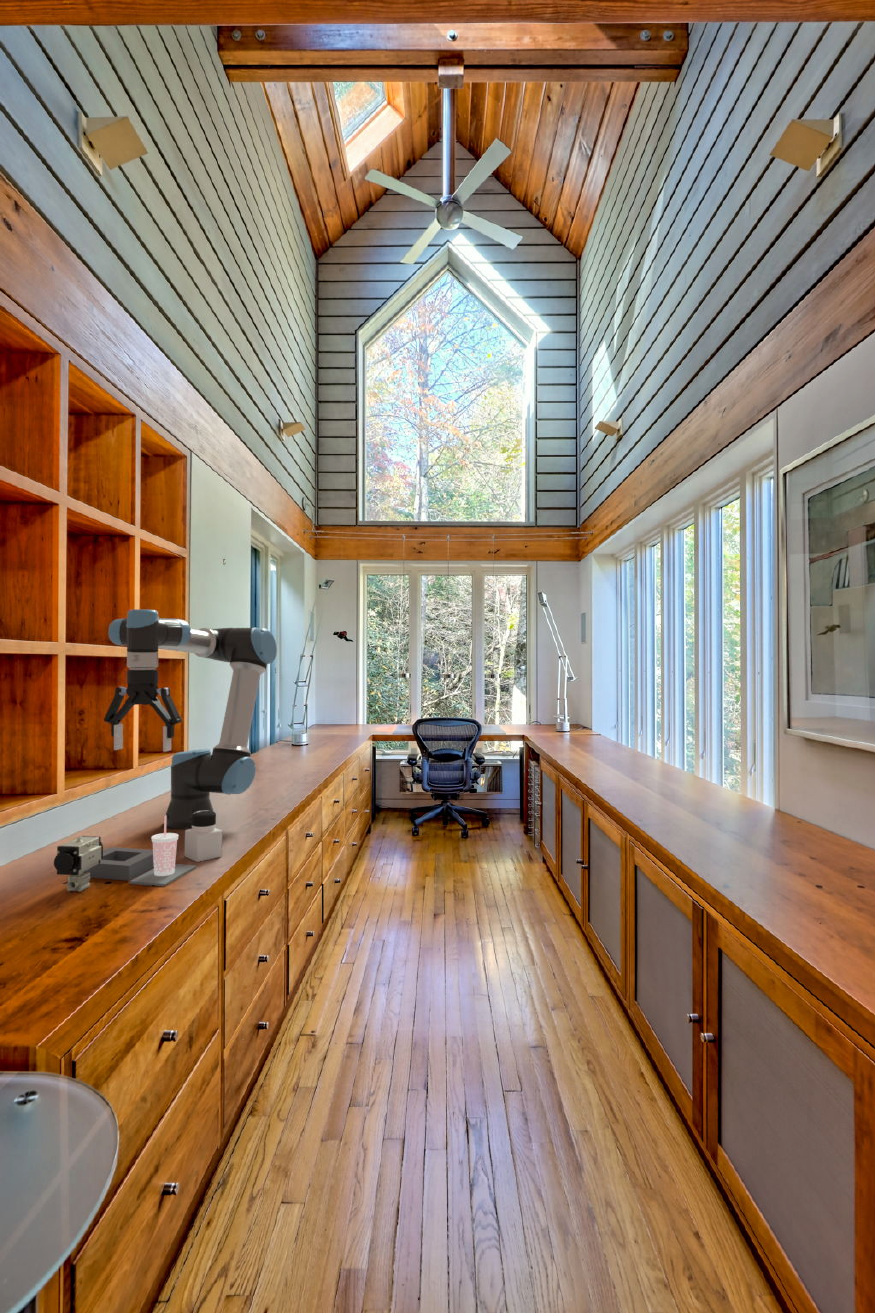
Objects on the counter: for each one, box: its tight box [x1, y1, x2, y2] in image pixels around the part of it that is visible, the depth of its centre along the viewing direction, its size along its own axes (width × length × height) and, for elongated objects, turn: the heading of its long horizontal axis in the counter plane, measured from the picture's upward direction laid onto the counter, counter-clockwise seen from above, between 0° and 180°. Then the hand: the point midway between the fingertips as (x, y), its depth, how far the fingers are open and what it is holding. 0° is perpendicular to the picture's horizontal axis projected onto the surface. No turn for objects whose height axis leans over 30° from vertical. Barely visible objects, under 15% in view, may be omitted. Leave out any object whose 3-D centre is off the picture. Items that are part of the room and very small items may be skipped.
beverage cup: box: [150, 814, 179, 876], centre depth 162 cm, size 6×6×14 cm
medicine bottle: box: [184, 810, 223, 863], centre depth 177 cm, size 7×7×12 cm
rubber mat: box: [129, 863, 197, 887], centre depth 162 cm, size 14×9×1 cm, turn 171°
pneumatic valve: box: [53, 835, 104, 893], centre depth 152 cm, size 6×12×12 cm, turn 176°
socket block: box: [82, 846, 154, 881], centre depth 165 cm, size 13×14×4 cm
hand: (142, 750), depth 174 cm, fingers open, 13 cm apart
